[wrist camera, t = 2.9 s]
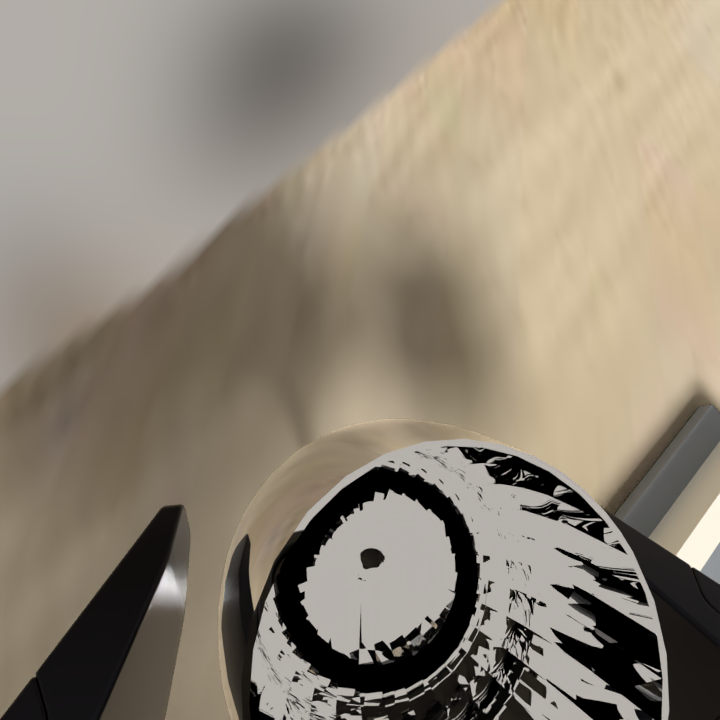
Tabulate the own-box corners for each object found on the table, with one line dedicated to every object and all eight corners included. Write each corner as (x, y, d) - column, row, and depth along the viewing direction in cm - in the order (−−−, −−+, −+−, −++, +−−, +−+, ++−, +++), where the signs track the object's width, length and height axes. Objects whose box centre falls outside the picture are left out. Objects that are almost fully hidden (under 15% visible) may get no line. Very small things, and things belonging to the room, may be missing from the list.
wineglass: (225, 490, 16) (82, 542, 4) (368, 420, 17) (546, 318, 6) (294, 650, 15) (345, 1250, 3) (437, 561, 16) (807, 771, 5)
